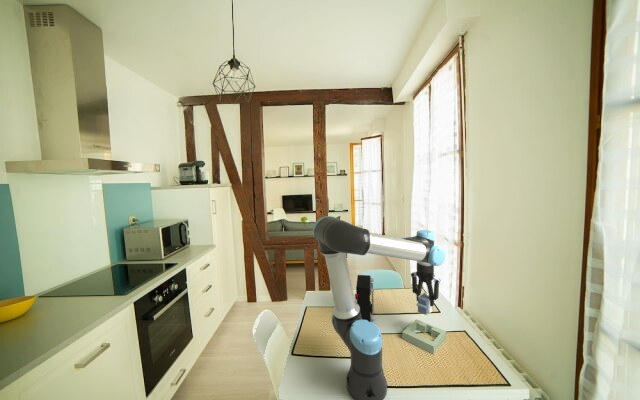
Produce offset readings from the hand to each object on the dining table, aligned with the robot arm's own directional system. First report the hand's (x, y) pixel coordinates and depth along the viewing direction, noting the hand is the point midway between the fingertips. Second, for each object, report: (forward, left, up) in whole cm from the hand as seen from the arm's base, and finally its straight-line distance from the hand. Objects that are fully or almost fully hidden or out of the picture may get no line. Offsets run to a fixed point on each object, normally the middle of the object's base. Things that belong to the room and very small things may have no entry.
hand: (425, 309), depth 117 cm
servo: (0, 0, 0) cm, 0 cm away
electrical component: (-2, +34, -15) cm, 37 cm away
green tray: (0, 0, -15) cm, 15 cm away
